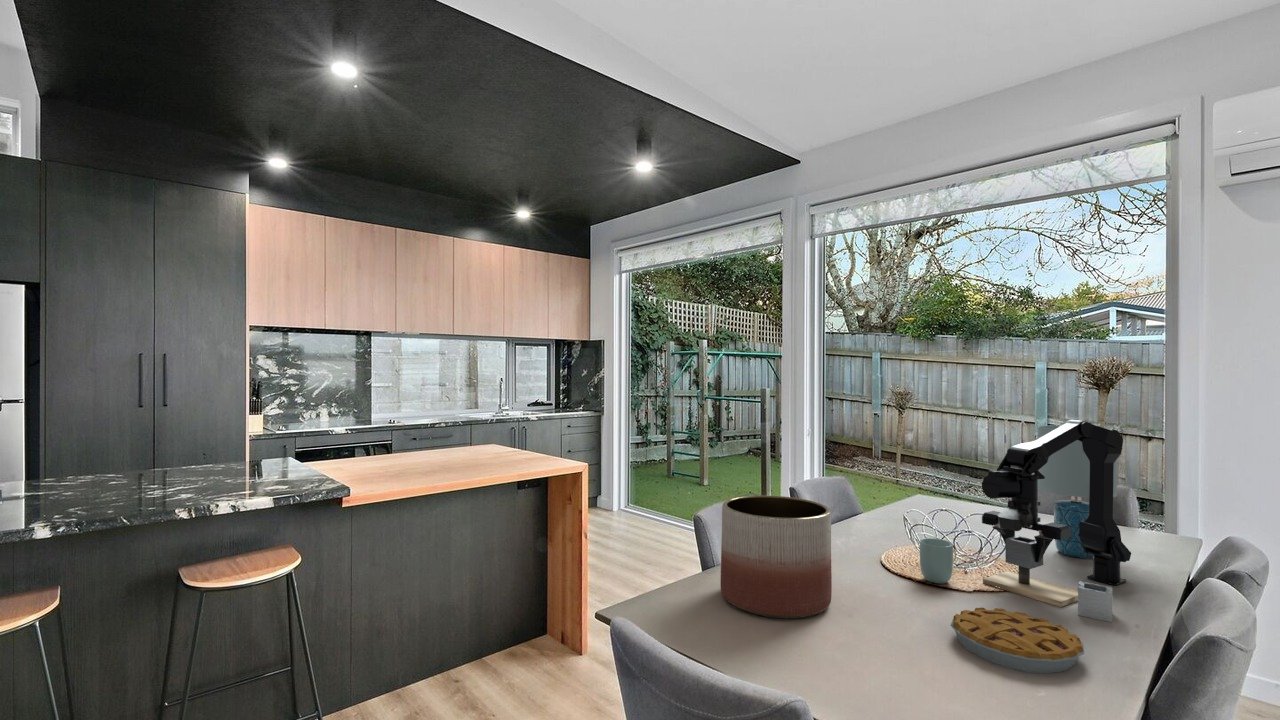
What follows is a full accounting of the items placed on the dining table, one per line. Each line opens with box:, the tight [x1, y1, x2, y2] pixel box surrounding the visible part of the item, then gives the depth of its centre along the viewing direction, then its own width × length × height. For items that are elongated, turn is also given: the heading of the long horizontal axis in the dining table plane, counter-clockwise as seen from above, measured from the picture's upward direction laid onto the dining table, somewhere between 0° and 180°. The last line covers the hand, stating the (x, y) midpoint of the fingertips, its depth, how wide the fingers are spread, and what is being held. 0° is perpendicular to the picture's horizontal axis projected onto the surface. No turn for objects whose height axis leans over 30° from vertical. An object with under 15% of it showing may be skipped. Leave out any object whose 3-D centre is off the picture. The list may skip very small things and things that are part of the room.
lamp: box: [1037, 425, 1118, 559], centre depth 181 cm, size 19×19×38 cm
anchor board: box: [982, 566, 1078, 608], centre depth 150 cm, size 12×18×6 cm, turn 31°
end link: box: [1004, 535, 1044, 570], centre depth 152 cm, size 6×6×6 cm
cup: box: [919, 537, 954, 584], centre depth 156 cm, size 8×8×10 cm
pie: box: [950, 607, 1085, 674], centre depth 118 cm, size 22×22×5 cm
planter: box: [720, 495, 833, 619], centre depth 142 cm, size 25×25×22 cm
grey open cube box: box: [1077, 580, 1113, 623], centre depth 136 cm, size 6×6×6 cm
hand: (1024, 558), depth 152 cm, fingers closed on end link, 6 cm apart
